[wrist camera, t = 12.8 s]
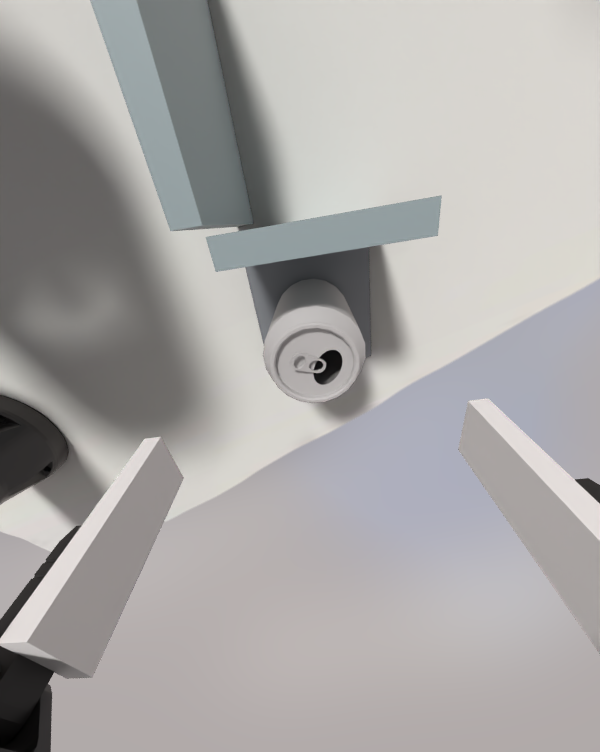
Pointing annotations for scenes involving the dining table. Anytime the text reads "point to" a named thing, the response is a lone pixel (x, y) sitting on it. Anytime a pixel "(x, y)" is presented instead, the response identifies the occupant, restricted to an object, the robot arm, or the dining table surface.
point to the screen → (219, 142)
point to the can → (313, 343)
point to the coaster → (334, 268)
